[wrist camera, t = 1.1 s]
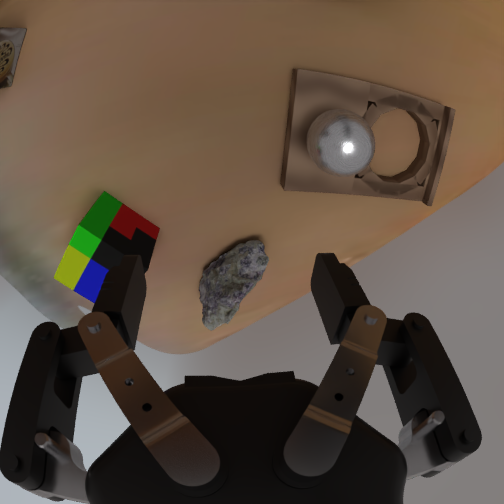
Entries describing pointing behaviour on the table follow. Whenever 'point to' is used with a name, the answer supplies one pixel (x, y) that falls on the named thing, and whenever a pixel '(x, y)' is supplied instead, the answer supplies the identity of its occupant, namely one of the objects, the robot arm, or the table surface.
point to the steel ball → (340, 143)
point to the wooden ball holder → (370, 108)
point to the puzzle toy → (104, 245)
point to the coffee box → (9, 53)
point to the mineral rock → (230, 281)
